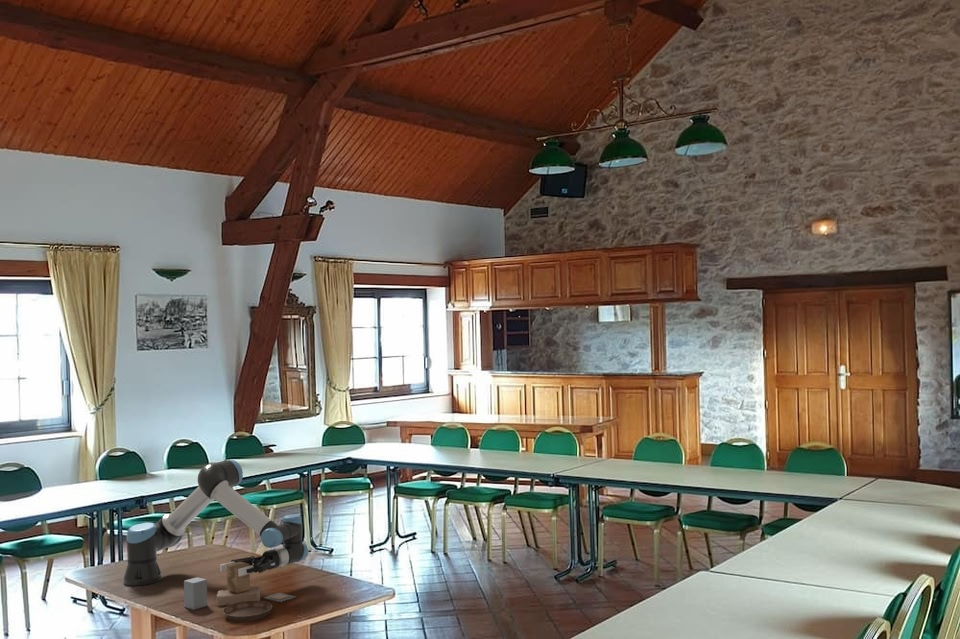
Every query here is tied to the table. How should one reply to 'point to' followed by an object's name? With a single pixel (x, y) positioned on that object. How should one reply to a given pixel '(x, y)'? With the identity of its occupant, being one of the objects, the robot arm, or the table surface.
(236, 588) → the walnut block
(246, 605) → the plant saucer
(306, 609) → the table surface
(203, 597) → the slate block
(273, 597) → the card
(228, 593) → the brick
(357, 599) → the table surface
